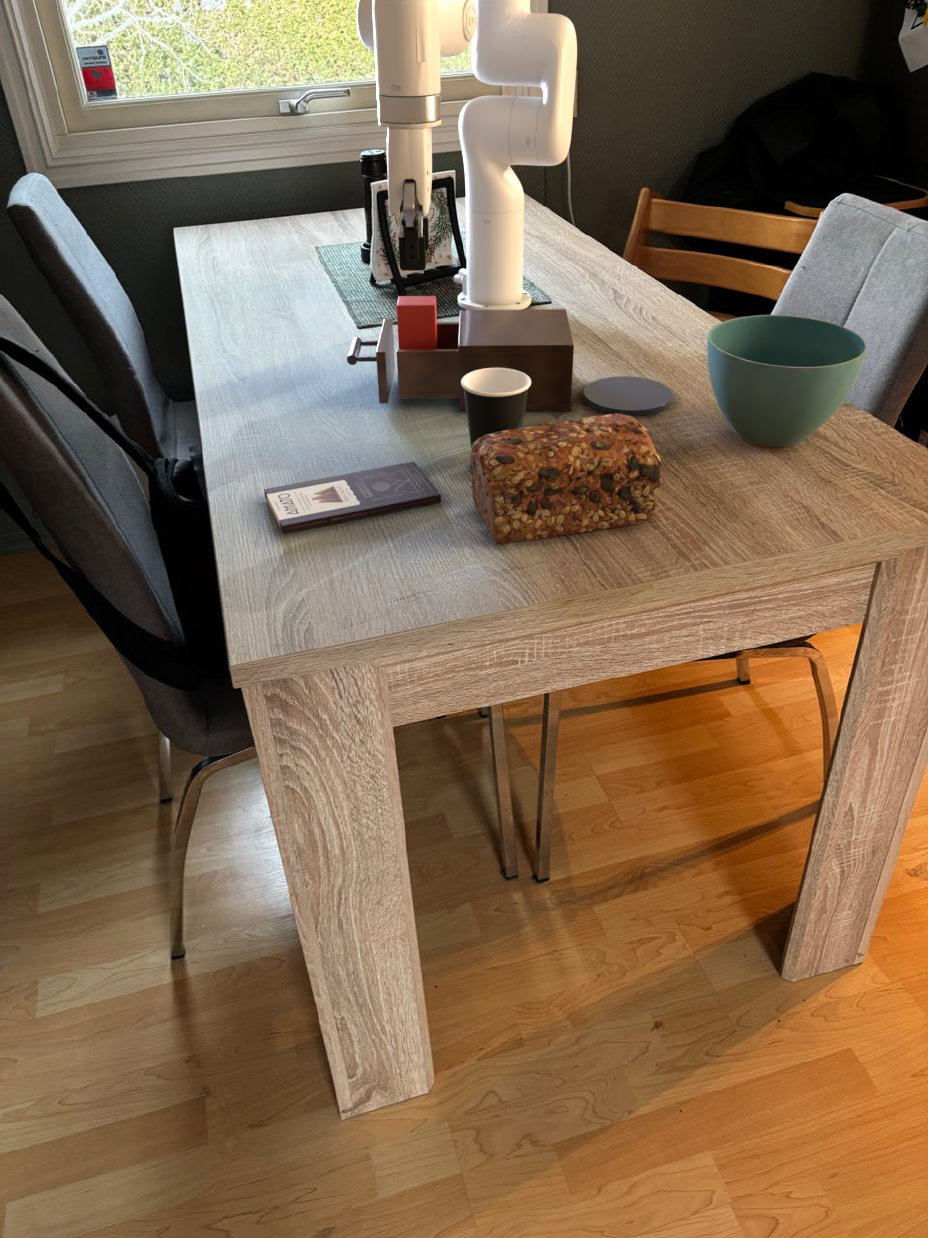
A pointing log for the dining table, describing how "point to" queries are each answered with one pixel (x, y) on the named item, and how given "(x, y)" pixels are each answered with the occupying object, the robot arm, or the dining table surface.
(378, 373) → the drawer
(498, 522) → the bread
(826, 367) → the green bowl
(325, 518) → the chocolate bar
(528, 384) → the dixie cup
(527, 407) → the cabinet
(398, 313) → the red rectangular block
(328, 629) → the dining table surface
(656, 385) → the plate
